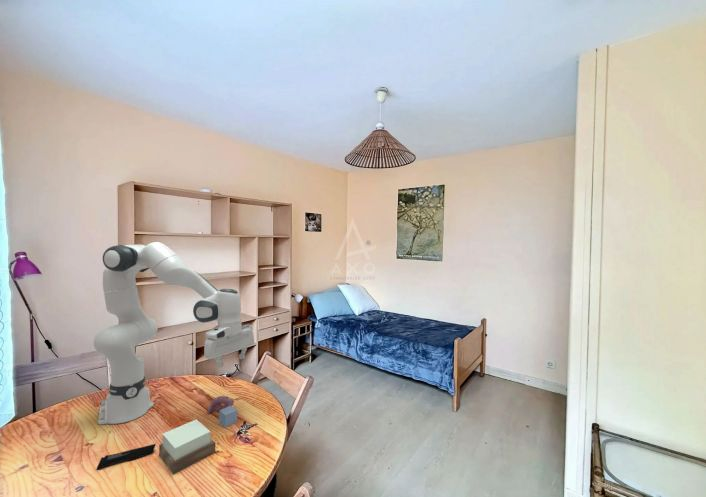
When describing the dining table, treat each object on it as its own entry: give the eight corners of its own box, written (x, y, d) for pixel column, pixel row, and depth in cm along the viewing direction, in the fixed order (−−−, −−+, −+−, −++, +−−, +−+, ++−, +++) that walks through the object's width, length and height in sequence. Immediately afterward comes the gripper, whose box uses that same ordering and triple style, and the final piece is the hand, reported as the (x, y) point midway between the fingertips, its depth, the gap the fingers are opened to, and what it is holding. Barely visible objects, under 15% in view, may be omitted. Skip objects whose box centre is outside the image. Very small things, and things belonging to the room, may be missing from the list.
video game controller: (232, 414, 126) (236, 396, 129) (227, 415, 122) (231, 396, 125) (210, 413, 126) (215, 395, 130) (205, 413, 122) (209, 395, 126)
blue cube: (219, 422, 117) (219, 410, 117) (230, 417, 121) (231, 405, 121) (224, 427, 114) (225, 415, 114) (236, 422, 118) (237, 409, 118)
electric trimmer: (154, 456, 99) (155, 447, 99) (95, 472, 91) (95, 461, 91) (156, 449, 102) (156, 440, 102) (98, 464, 95) (99, 454, 95)
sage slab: (162, 445, 98) (162, 433, 98) (196, 430, 107) (196, 419, 107) (174, 460, 91) (174, 448, 91) (210, 443, 100) (210, 431, 100)
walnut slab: (159, 456, 99) (159, 444, 99) (199, 437, 109) (199, 427, 109) (173, 476, 90) (173, 463, 90) (215, 453, 100) (215, 442, 100)
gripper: (247, 322, 129) (249, 353, 129) (201, 334, 112) (203, 369, 112) (256, 323, 125) (257, 355, 125) (210, 336, 108) (211, 373, 108)
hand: (231, 362), depth 118 cm, fingers open, 8 cm apart
